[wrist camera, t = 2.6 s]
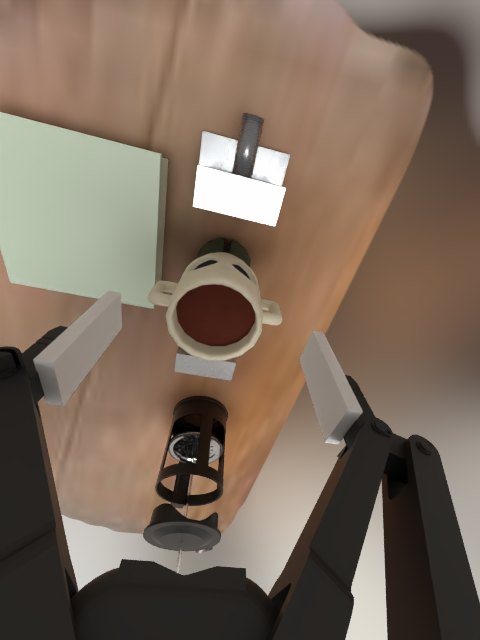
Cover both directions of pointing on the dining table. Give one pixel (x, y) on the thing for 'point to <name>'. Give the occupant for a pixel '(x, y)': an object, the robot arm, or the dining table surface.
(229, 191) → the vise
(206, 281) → the character mug
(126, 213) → the stand
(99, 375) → the dining table surface
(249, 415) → the dining table surface
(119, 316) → the robot arm
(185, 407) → the french press
